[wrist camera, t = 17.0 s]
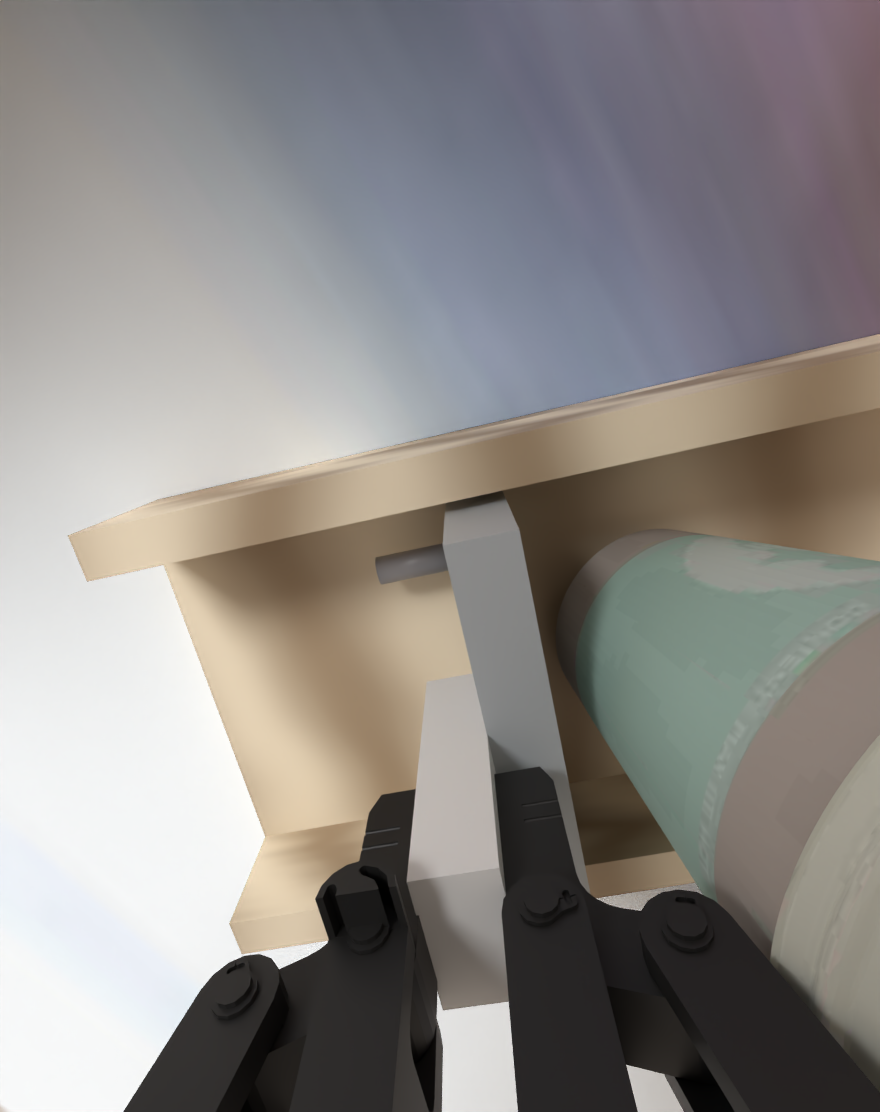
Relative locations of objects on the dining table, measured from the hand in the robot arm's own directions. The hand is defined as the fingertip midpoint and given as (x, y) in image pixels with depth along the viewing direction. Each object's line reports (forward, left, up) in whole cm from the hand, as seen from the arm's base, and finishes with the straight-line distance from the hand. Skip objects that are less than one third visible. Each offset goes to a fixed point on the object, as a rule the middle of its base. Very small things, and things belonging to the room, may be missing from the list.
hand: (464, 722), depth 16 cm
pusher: (0, 0, -3) cm, 3 cm away
